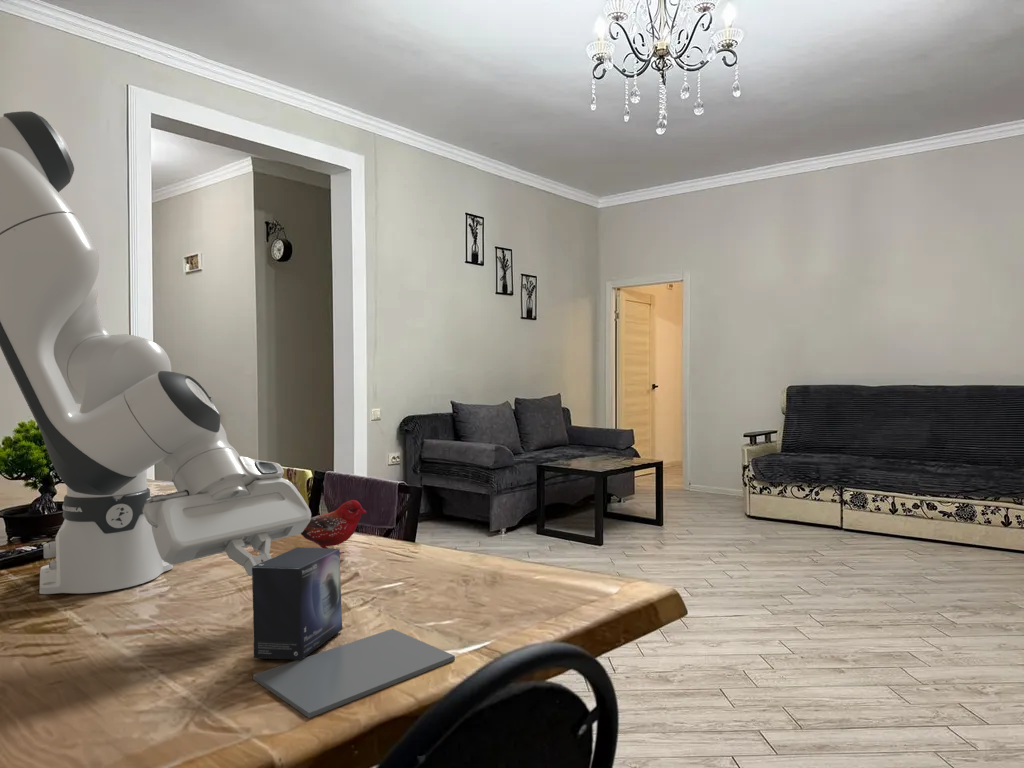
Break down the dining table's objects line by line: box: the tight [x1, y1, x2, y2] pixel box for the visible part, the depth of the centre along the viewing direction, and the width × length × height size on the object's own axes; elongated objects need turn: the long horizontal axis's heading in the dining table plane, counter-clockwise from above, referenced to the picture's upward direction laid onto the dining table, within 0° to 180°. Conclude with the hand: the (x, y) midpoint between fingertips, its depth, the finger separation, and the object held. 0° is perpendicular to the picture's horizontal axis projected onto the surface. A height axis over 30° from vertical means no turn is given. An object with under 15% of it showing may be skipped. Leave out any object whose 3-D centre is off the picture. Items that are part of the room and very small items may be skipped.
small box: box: [251, 546, 343, 661], centre depth 83 cm, size 11×6×10 cm, turn 168°
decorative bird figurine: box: [300, 499, 367, 555], centre depth 124 cm, size 3×18×10 cm, turn 80°
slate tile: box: [252, 628, 456, 719], centre depth 76 cm, size 12×18×1 cm, turn 135°
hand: (262, 570), depth 87 cm, fingers closed
